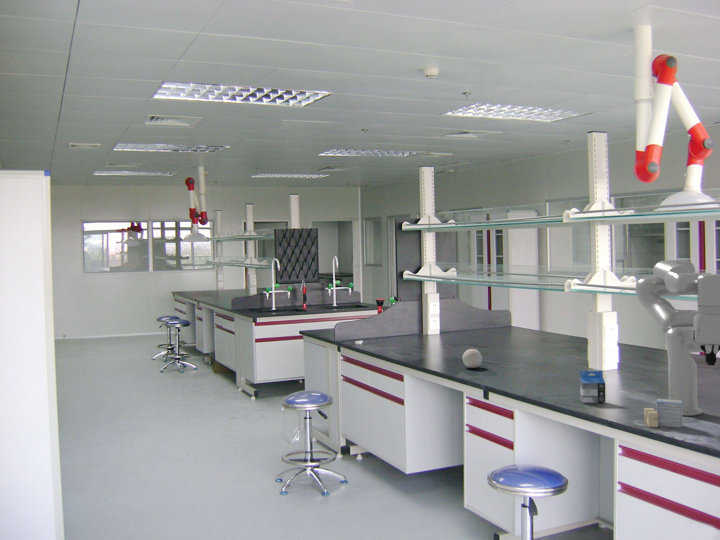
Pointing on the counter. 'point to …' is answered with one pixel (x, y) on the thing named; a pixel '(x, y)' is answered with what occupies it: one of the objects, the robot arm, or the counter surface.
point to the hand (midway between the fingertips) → (710, 364)
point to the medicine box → (669, 413)
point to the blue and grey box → (592, 387)
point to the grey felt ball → (472, 358)
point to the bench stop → (650, 417)
